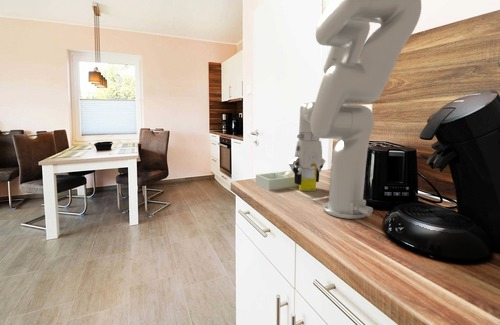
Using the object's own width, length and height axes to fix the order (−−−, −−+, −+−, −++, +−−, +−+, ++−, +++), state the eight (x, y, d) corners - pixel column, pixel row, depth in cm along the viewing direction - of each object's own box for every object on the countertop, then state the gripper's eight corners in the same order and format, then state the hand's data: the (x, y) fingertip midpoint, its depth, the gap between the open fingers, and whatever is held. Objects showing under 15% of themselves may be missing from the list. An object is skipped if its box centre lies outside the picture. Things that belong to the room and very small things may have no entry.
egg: (297, 183, 108) (298, 172, 108) (288, 185, 106) (288, 173, 105) (290, 181, 113) (290, 169, 112) (280, 182, 110) (281, 171, 110)
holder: (305, 186, 107) (306, 175, 107) (269, 191, 99) (269, 179, 98) (290, 180, 116) (291, 170, 115) (255, 185, 107) (255, 174, 107)
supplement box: (313, 188, 104) (314, 161, 102) (315, 193, 98) (317, 164, 96) (298, 188, 104) (299, 161, 103) (299, 192, 99) (300, 163, 97)
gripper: (297, 138, 90) (294, 187, 93) (333, 137, 99) (330, 182, 102) (284, 137, 97) (282, 182, 100) (319, 135, 105) (316, 178, 108)
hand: (306, 182), depth 101 cm, fingers closed on supplement box, 8 cm apart
